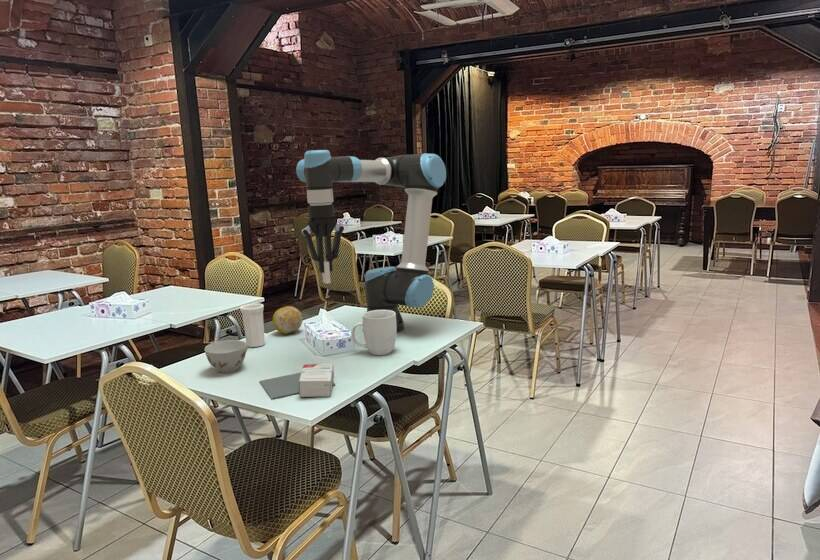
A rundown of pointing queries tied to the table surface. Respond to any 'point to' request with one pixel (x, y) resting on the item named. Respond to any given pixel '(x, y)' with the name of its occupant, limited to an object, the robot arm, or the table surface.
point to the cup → (253, 324)
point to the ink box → (316, 380)
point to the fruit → (287, 319)
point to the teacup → (226, 354)
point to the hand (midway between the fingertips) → (326, 282)
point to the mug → (378, 331)
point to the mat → (282, 386)
